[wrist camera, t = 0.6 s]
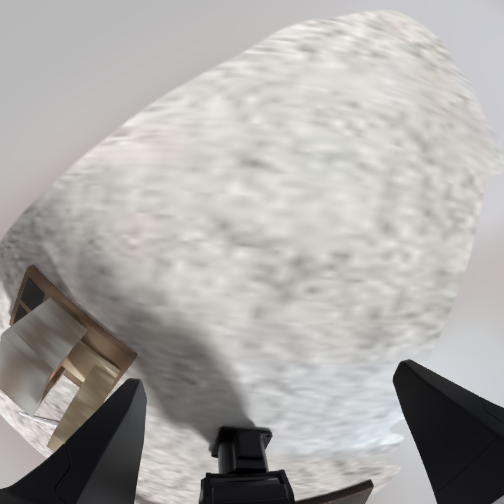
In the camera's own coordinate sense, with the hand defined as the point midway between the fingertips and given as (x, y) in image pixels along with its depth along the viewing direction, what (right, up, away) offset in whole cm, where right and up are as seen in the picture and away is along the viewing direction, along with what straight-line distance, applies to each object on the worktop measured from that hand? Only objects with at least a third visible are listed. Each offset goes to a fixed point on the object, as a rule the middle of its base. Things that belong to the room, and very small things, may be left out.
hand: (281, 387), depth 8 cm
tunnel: (-21, -4, +15) cm, 27 cm away
